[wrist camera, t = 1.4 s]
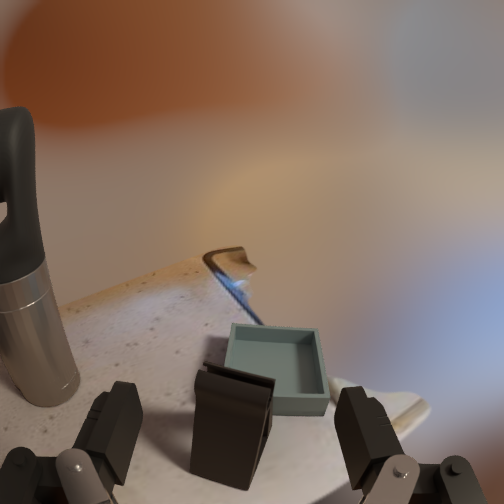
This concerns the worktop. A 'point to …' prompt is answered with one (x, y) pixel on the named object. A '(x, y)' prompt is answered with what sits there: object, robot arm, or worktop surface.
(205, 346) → the worktop surface
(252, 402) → the phone stand
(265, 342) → the slate tray
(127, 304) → the worktop surface
